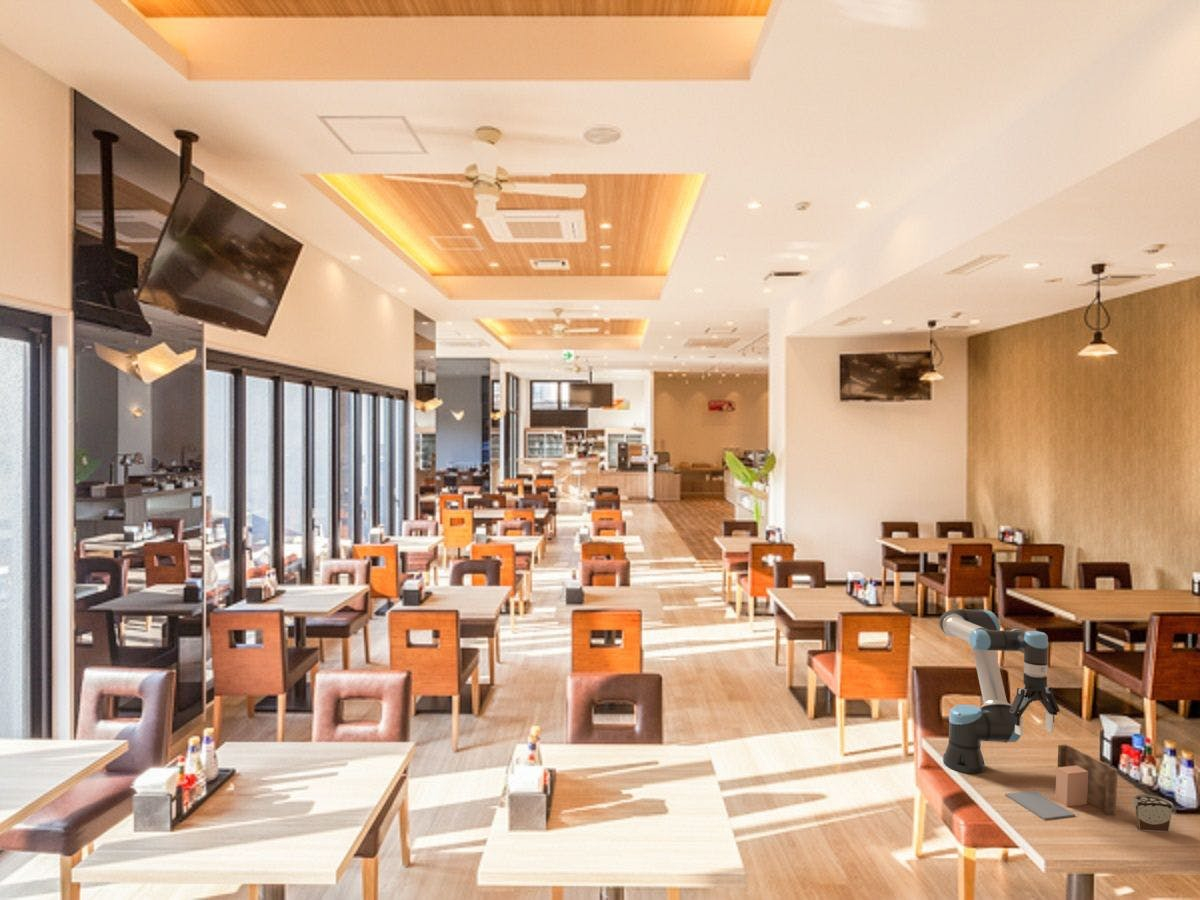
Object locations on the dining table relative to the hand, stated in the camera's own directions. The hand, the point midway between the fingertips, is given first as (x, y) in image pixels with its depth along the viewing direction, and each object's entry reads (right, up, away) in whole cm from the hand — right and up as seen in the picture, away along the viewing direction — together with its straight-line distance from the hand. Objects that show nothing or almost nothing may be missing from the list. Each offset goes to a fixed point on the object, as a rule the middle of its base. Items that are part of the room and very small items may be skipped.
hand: (1033, 732), depth 281 cm
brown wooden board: (+19, -25, +1) cm, 32 cm away
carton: (+13, -25, 0) cm, 28 cm away
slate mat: (0, -25, -4) cm, 25 cm away
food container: (+30, -26, -17) cm, 43 cm away
